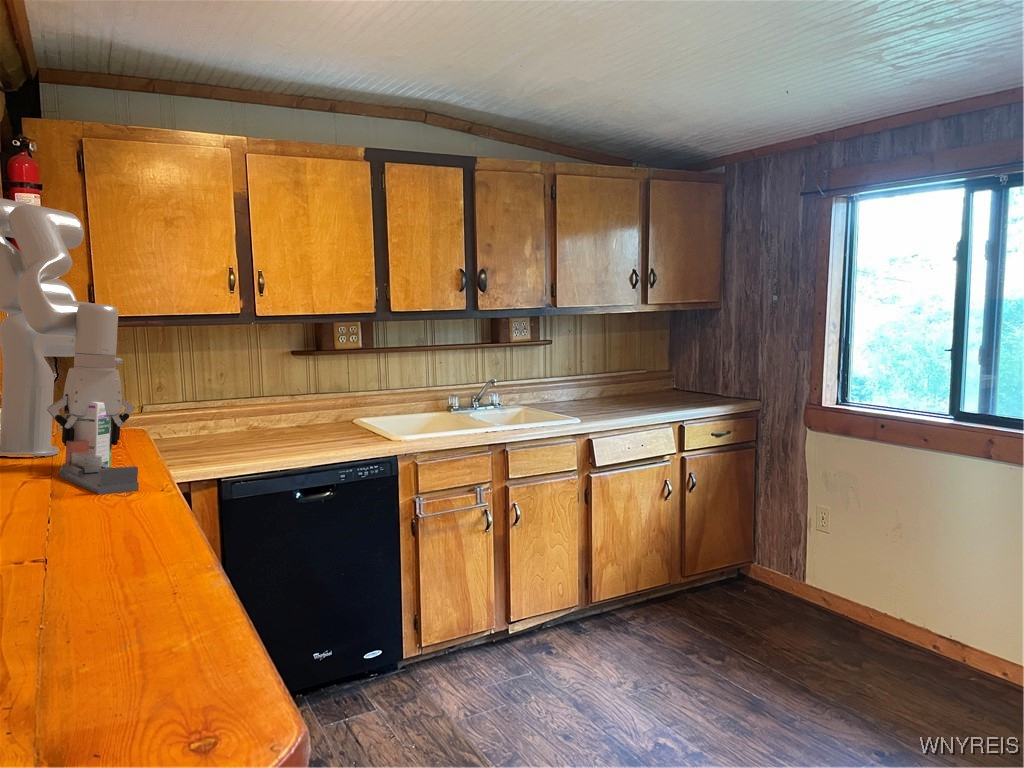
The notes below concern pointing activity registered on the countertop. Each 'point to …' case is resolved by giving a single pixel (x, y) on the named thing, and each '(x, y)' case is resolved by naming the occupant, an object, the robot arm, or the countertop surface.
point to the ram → (82, 456)
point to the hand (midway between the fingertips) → (91, 444)
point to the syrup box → (96, 431)
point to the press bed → (102, 478)
